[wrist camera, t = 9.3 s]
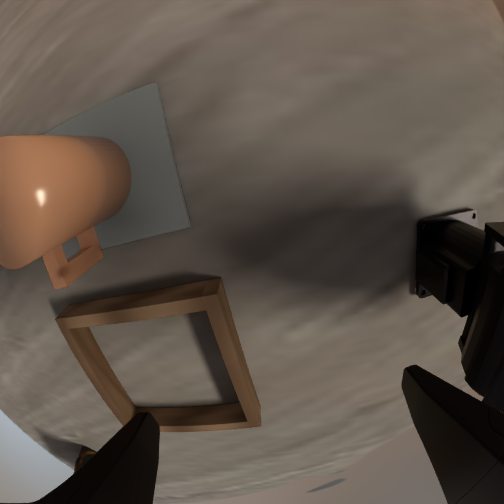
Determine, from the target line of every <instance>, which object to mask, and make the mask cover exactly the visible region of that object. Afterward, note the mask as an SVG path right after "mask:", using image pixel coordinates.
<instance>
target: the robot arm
mask: <svg viewBox="0 0 504 504" xmlns="http://www.w3.org/2000/svg"><path fill="white" fill-rule="evenodd" d="M472 215H473V217H472ZM424 224H425V227H424V229H422V226H423V225H424ZM416 280H417V285H416V294H417V296H418V297H419V298H425V297H428V296H431V295H433V296H434V297H435V298H437V299H438V300H439V301H440V302H441V303H442V304H447V305H449V306H450V307H451V308H452V309H453V310H454V311H455V312H456V313H457V314H458V315H459V316H460V317H464V316H467V315H468V317H467V321H466V324H465V327H464V330H463V333H462V335H461V336H460V339H459V342H458V344H459V347H460V350H461V353H462V358H461V363H462V366H463V369H464V372H465V374H466V375H465V381H466V382H467V383H468V385H469V386H470V387H471V388H472V389H473V390H474V391H475V392H477V393H478V394H479V395H481V396H483V397H484V398H483V400H482V401H480V400H478V399H476V398H474V397H472V396H471V395H469V394H467V393H465V392H463V391H462V390H460V389H458V388H456V387H455V386H453V385H451V384H449V383H447V382H446V381H444V380H442V379H440V378H439V377H437V376H435V375H433V374H432V373H430V372H428V371H426V370H425V369H423V368H421V367H419V366H418V365H411V366H408V367H406V368H405V369H404V372H403V378H402V390H403V393H404V396H405V399H406V402H407V405H408V408H409V411H410V414H411V417H412V420H413V423H414V425H415V427H416V429H417V432H418V434H419V436H420V438H421V440H422V442H423V445H424V447H425V449H426V451H427V454H428V456H429V458H430V461H431V463H432V465H433V468H434V470H435V473H436V475H437V477H438V480H439V482H440V485H441V487H442V490H443V492H444V495H445V497H446V500H447V503H448V504H504V222H491V223H485V229H484V231H483V230H481V229H478V213H477V211H476V210H473V209H469V210H465V211H460V212H455V213H450V214H446V215H441V216H436V217H431V218H426V219H422V220H420V221H419V222H418V224H417V251H416ZM422 291H423V292H422ZM421 292H422V293H421ZM500 411H501V412H500ZM502 412H503V413H502ZM159 439H160V426H159V424H158V422H157V421H156V420H155V418H154V417H153V415H152V414H151V413H150V412H149V411H139V412H138V413H137V414H136V415H135V416H134V417H132V418H131V419H130V420H129V421H128V422H127V423H126V424H125V425H124V426H123V427H122V428H121V429H120V430H119V431H118V432H117V433H116V434H115V435H114V436H113V437H112V438H111V439H110V440H109V441H108V442H107V443H106V444H105V445H104V446H103V447H102V448H101V449H100V450H99V451H98V452H97V453H95V454H94V455H93V456H92V457H91V458H90V459H89V460H88V461H87V462H86V463H85V464H84V465H83V466H82V468H79V469H78V470H77V471H76V472H75V473H74V474H73V475H72V476H71V477H70V478H68V479H67V480H66V481H65V482H63V483H62V484H61V485H60V486H58V487H57V488H56V489H54V490H53V491H51V492H50V493H48V494H47V495H46V496H44V497H43V498H41V499H40V500H37V501H35V502H31V503H0V504H153V497H154V490H155V483H156V476H157V470H158V462H159Z"/></svg>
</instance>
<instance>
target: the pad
mask: <svg viewBox="0 0 504 504" xmlns="http://www.w3.org/2000/svg"><path fill="white" fill-rule="evenodd" d="M43 135H69V136H94V137H104V138H108V139H110V140H112V141H113V142H115V143H116V144H117V145H118V146H120V148H121V149H122V150H123V152H124V153H125V155H126V157H127V159H128V162H129V165H130V170H131V187H130V192H129V195H128V198H127V200H126V202H125V204H124V206H123V207H122V208H121V210H120V211H119V212H118V213H117V214H116V215H114V216H113V217H111V218H110V219H108V220H106V221H104V222H102V223H100V224H98V225H96V226H94V229H95V232H96V235H97V238H98V241H99V244H100V247H101V250H102V249H106V248H109V247H113V246H117V245H121V244H125V243H128V242H132V241H136V240H140V239H144V238H148V237H152V236H156V235H160V234H164V233H168V232H172V231H177V230H181V229H185V228H189V227H191V226H192V225H191V222H190V218H189V214H188V211H187V207H186V203H185V199H184V195H183V191H182V188H181V184H180V180H179V176H178V172H177V167H176V163H175V159H174V155H173V151H172V146H171V142H170V138H169V133H168V129H167V124H166V120H165V115H164V110H163V105H162V101H161V96H160V91H159V86H158V83H157V82H154V83H151V84H148V85H145V86H143V87H140V88H137V89H135V90H132V91H130V92H127V93H125V94H122V95H120V96H118V97H115V98H113V99H111V100H108V101H106V102H104V103H102V104H100V105H97V106H95V107H93V108H91V109H89V110H87V111H85V112H83V113H81V114H79V115H77V116H75V117H73V118H71V119H70V120H68V121H66V122H64V123H62V124H60V125H59V126H57V127H55V128H53V129H52V130H50V131H48V132H47V133H45V134H43ZM61 245H62V248H63V251H64V253H65V256H66V259H68V258H69V257H71V256H72V255H74V254H75V253H77V252H79V251H80V250H81V248H80V245H79V242H78V239H77V236H76V237H74V238H72V239H70V240H68V241H67V242H65V243H63V244H61Z"/></svg>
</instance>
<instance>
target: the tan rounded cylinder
mask: <svg viewBox="0 0 504 504" xmlns="http://www.w3.org/2000/svg"><path fill="white" fill-rule="evenodd" d="M130 187H131V170H130V165H129V162H128V159H127V157H126V155H125V153H124V152H123V150H122V149H121V148H120V146H118V145H117V144H116V143H115V142H113V141H112V140H110V139H108V138H104V137H94V136H69V135H23V136H3V137H0V265H1V266H3V267H5V268H8V269H20V268H22V267H24V266H26V265H28V264H29V263H31V262H32V261H34V260H36V259H37V258H39V257H41V256H42V258H43V261H44V263H45V266H46V269H47V271H48V274H49V276H50V279H51V281H52V284H53V286H54V288H55V289H60V288H64V287H68V286H69V285H70V284H71V283H72V282H74V281H75V280H76V279H77V278H78V277H80V276H81V275H82V274H83V273H85V272H86V271H87V270H88V269H90V268H91V267H92V266H93V265H95V264H96V263H97V262H99V261H100V260H101V259H102V258H104V256H103V253H102V250H101V247H100V244H99V241H98V238H97V235H96V232H95V229H94V226H96V225H98V224H100V223H102V222H104V221H106V220H108V219H110V218H111V217H113V216H114V215H116V214H117V213H118V212H119V211H120V210H121V208H122V207H123V206H124V204H125V202H126V200H127V198H128V195H129V192H130ZM76 236H77V239H78V242H79V245H80V248H81V250H80V251H79V252H77V253H75V254H74V255H72V256H71V257H69V258H68V259H66V256H65V253H64V251H63V248H62V245H61V244H63V243H65V242H67V241H68V240H70V239H72V238H74V237H76Z"/></svg>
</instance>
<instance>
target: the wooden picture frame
mask: <svg viewBox="0 0 504 504" xmlns="http://www.w3.org/2000/svg"><path fill="white" fill-rule="evenodd" d="M205 310H206V311H207V314H208V317H209V320H210V323H211V326H212V329H213V332H214V335H215V337H216V340H217V343H218V346H219V349H220V351H221V354H222V357H223V360H224V362H225V365H226V368H227V370H228V373H229V376H230V378H231V381H232V384H233V386H234V389H235V391H236V394H237V396H238V399H239V401H240V403H233V404H223V405H212V406H198V407H179V408H136V406H135V405H134V403H133V402H132V401H131V399H130V398H129V396H128V395H127V393H126V392H125V390H124V388H123V387H122V385H121V384H120V382H119V381H118V379H117V377H116V376H115V374H114V372H113V371H112V369H111V367H110V366H109V364H108V362H107V361H106V359H105V357H104V355H103V354H102V352H101V350H100V348H99V346H98V344H97V343H96V341H95V339H94V337H93V335H92V333H91V331H90V329H89V327H91V326H99V325H108V324H116V323H124V322H132V321H139V320H147V319H154V318H161V317H167V316H174V315H181V314H187V313H193V312H199V311H205ZM55 320H56V322H57V324H58V326H59V328H60V330H61V332H62V334H63V335H64V337H65V339H66V341H67V343H68V345H69V346H70V348H71V350H72V352H73V353H74V355H75V357H76V358H77V360H78V362H79V363H80V365H81V367H82V368H83V370H84V371H85V373H86V375H87V376H88V378H89V379H90V381H91V382H92V384H93V385H94V387H95V388H96V390H97V391H98V393H99V394H100V395H101V397H102V398H103V400H104V401H105V402H106V404H107V405H108V407H109V408H110V409H111V411H112V412H113V413H114V415H115V416H116V417H117V418H118V420H119V421H120V422H121V424H122V425H123V426H124V425H125V424H126V423H127V422H128V421H129V420H130V419H131V418H132V417H134V416H135V415H136V414H137V413H138V412H139V411H149V412H150V413H151V414H152V415H153V417H154V418H155V420H156V421H157V422H158V424H159V426H160V432H198V431H218V430H231V429H242V428H251V427H259V426H261V407H260V404H259V401H258V397H257V394H256V391H255V388H254V385H253V382H252V379H251V376H250V373H249V370H248V366H247V363H246V360H245V357H244V354H243V351H242V347H241V344H240V341H239V337H238V334H237V331H236V328H235V324H234V321H233V318H232V314H231V311H230V307H229V304H228V300H227V297H226V294H225V290H224V287H223V283H222V280H221V277H220V278H215V279H210V280H205V281H200V282H194V283H189V284H184V285H178V286H173V287H168V288H162V289H157V290H151V291H146V292H140V293H135V294H129V295H123V296H118V297H112V298H106V299H100V300H95V301H89V302H83V303H77V304H71V305H69V306H68V307H67V308H66V309H65V310H64V311H63V312H62V313H61V314H60V315H59V316H58V317H57V318H56V319H55Z"/></svg>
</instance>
